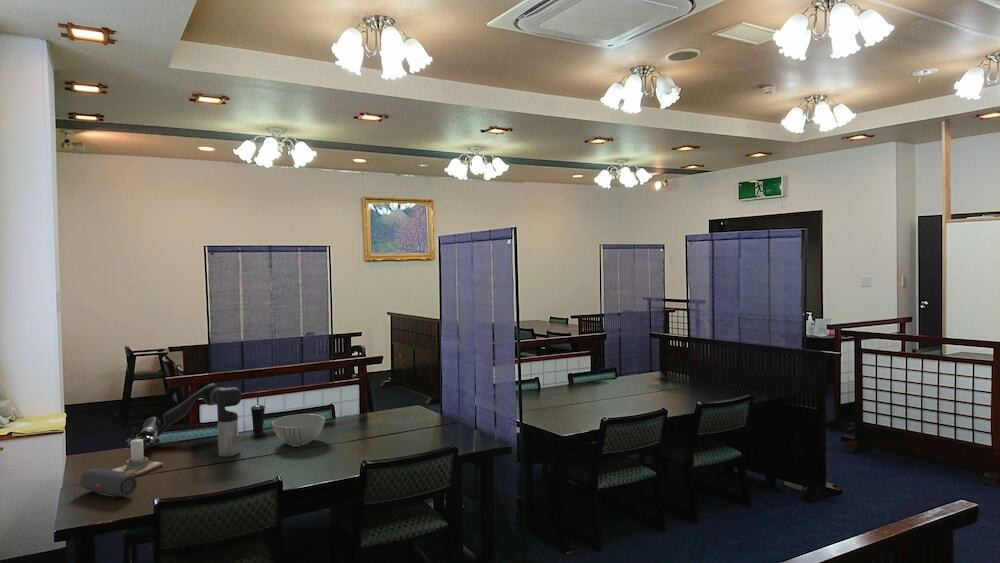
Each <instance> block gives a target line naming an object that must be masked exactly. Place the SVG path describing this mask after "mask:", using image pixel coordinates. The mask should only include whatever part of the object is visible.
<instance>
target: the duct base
mask: <svg viewBox="0 0 1000 563" xmlns="http://www.w3.org/2000/svg"><path fill="white" fill-rule="evenodd" d="M160 466H162V467H164V462H160V461H152V460H149V458H148V457H147V456H144V461H141V462H134V463H132V462H131V458H130V459H127V460H126V461H125V464H123V465H120V466H118V467H116V468H115V467H114V468H112V469H110V470H111V471H116V472H121V473H125V474H129V475H135V476H137V475H140V474H142V473H145V472H147V473H149V472H148V471H150V472H152V471H154V470H153V469H155V468H157V469H159V468H161V467H160ZM158 467H159V468H158ZM151 470H152V471H151ZM155 470H156V469H155ZM145 474H146V473H145ZM142 475H143V474H142ZM140 476H141V475H140ZM137 477H138V476H137Z"/></svg>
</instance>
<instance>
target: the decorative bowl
mask: <svg viewBox="0 0 1000 563" xmlns="http://www.w3.org/2000/svg"><path fill="white" fill-rule="evenodd" d="M325 423H326V418H325V417H324V416H322V415H318V414H314V413H313V414H312V413H301V414H292V415H291V414H290V415H289V414H288V415H285V416H282V417H278V418H275V419H274V420H272V422H271V427H272V429H273V431H274V433H275V434H276V436H277V437H278V438H279V439H280V440H281V441H282V442H284V443H286V445H287V444H288V445H302V444H307V443H309V442H311V443H312V441H313V440H315V439H316V438H317V436H319V435H320V433H321V432H322V430H323V428H324V426H325ZM288 445H287V446H288Z"/></svg>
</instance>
